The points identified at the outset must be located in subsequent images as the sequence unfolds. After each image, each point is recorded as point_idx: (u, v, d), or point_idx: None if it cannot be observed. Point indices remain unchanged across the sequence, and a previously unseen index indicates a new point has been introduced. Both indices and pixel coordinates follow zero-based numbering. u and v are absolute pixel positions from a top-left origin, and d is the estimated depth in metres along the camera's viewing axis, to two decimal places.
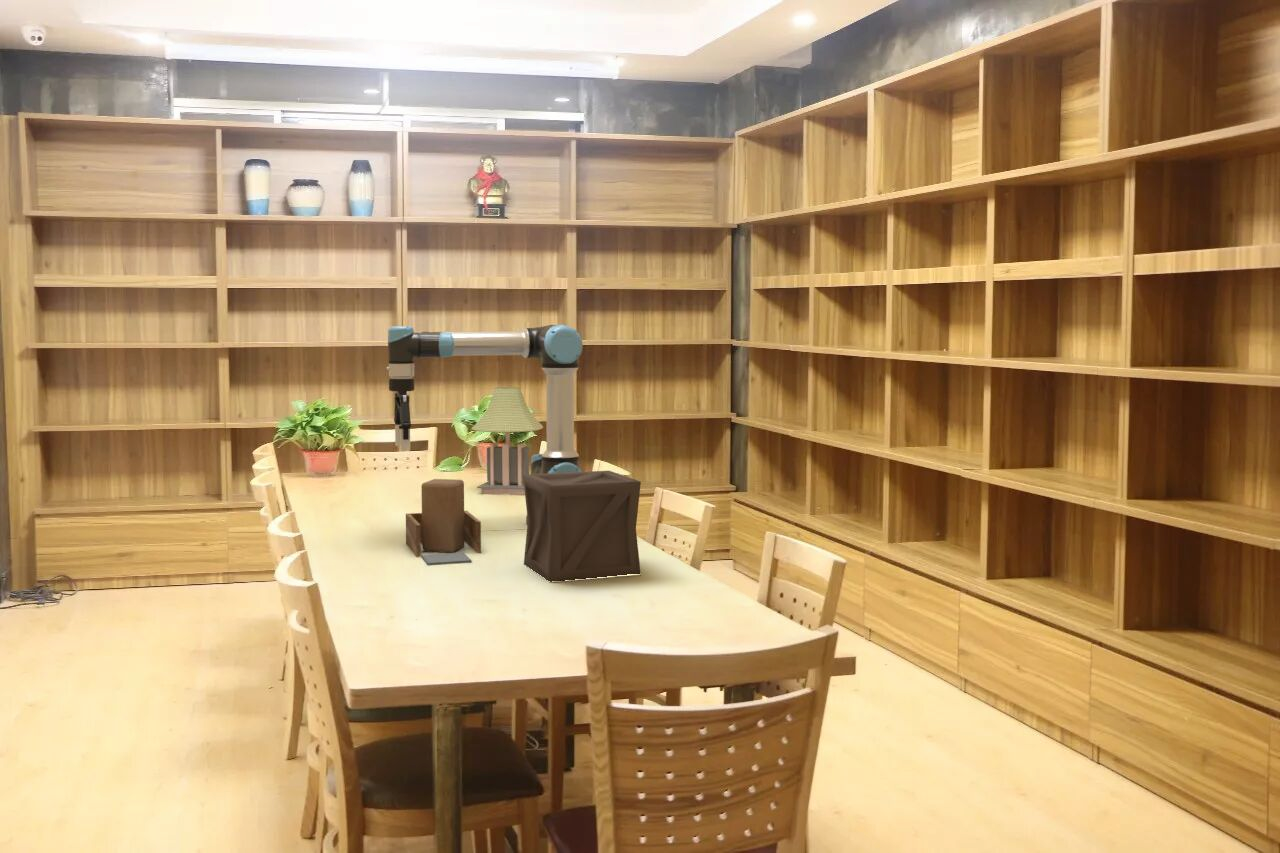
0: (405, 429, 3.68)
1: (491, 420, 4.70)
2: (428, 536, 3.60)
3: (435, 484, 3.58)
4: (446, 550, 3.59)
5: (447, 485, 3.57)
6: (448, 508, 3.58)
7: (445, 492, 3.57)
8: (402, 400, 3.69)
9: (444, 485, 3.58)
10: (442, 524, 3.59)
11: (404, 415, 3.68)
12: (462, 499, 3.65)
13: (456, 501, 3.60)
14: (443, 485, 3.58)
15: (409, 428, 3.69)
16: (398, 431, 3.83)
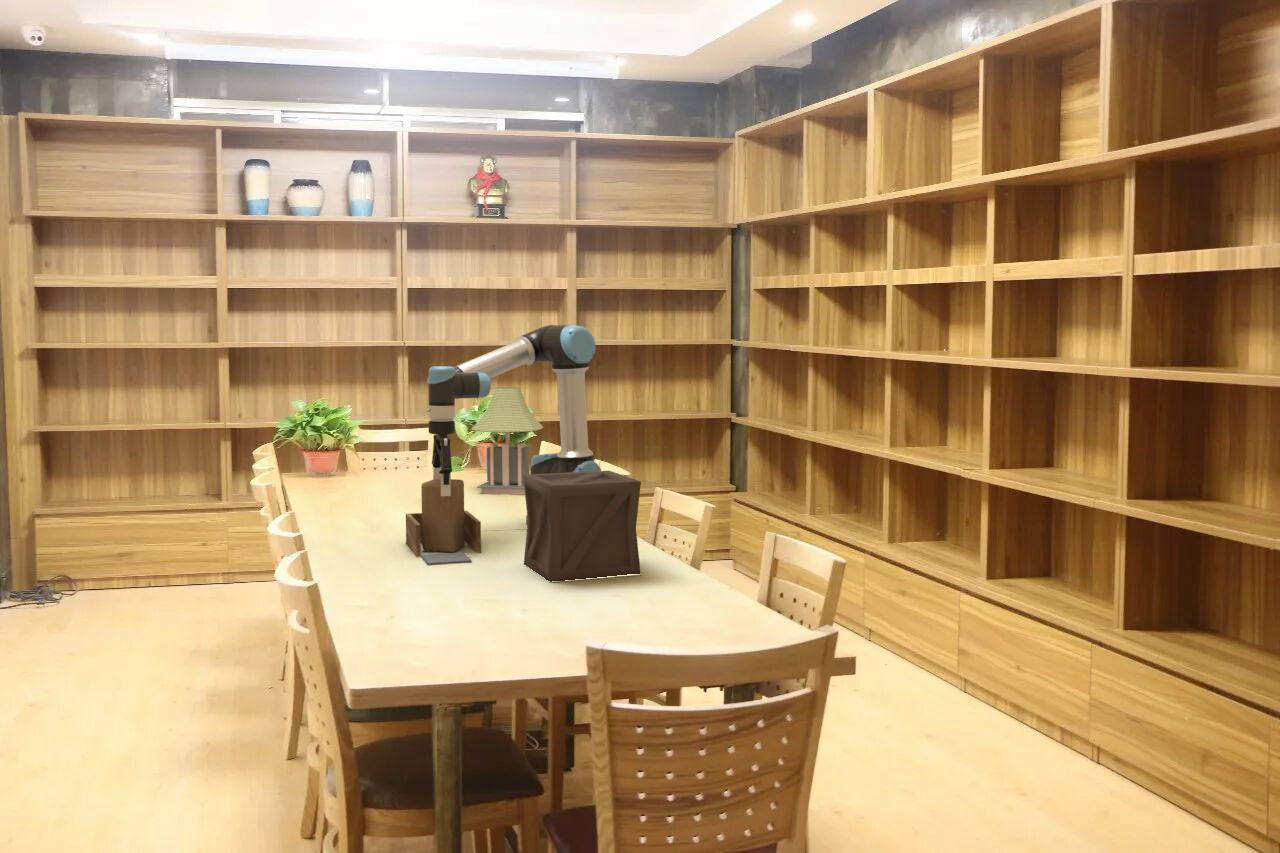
0: (446, 474, 3.54)
1: (491, 420, 4.70)
2: (428, 536, 3.60)
3: (435, 484, 3.58)
4: (446, 550, 3.59)
5: None
6: (448, 508, 3.58)
7: None
8: (443, 444, 3.55)
9: None
10: (442, 524, 3.58)
11: (445, 459, 3.53)
12: (462, 499, 3.65)
13: (456, 501, 3.60)
14: None
15: (450, 473, 3.55)
16: (436, 475, 3.68)
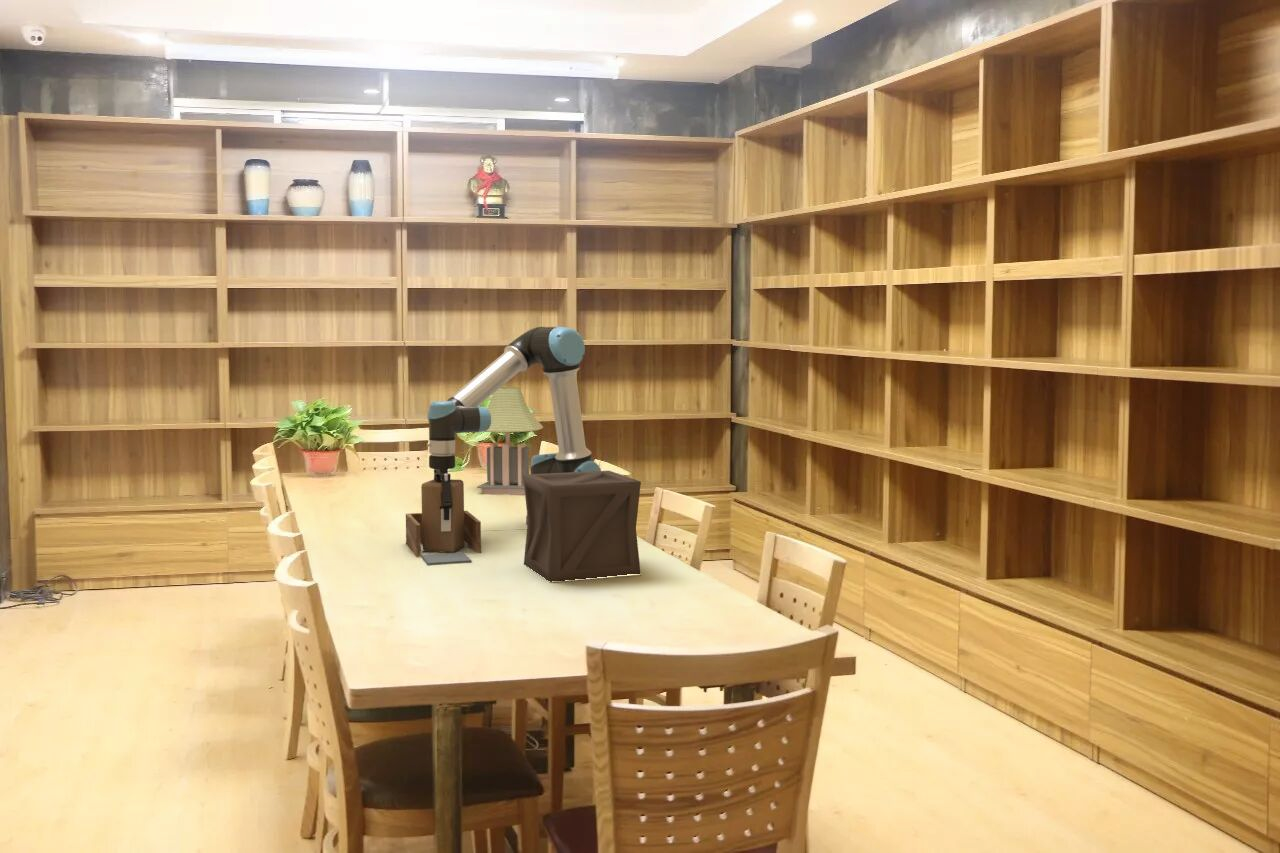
0: (446, 509, 3.55)
1: (491, 420, 4.70)
2: (428, 536, 3.60)
3: (435, 484, 3.58)
4: (446, 550, 3.59)
5: None
6: None
7: None
8: (443, 479, 3.56)
9: None
10: None
11: (445, 495, 3.54)
12: (462, 499, 3.65)
13: (456, 501, 3.60)
14: None
15: (450, 508, 3.56)
16: None
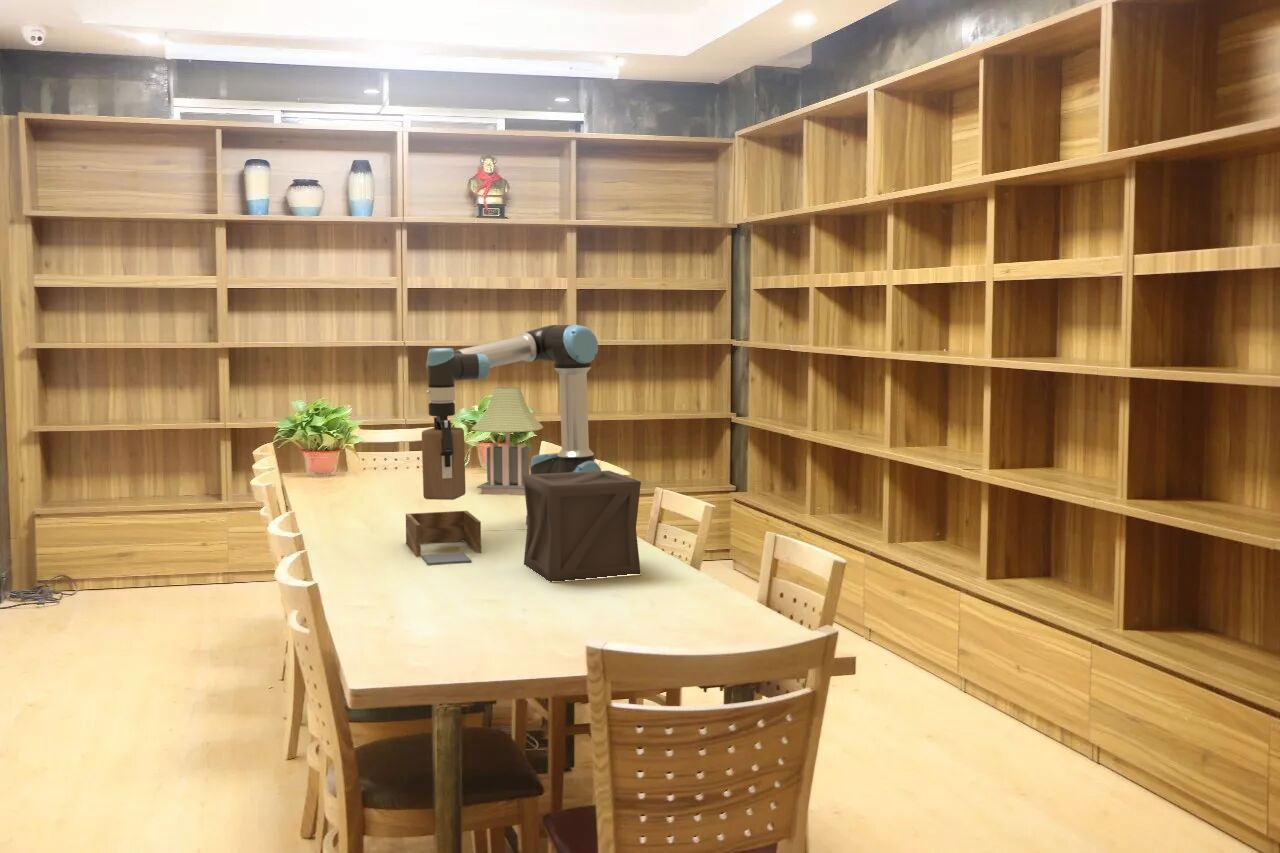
0: (447, 456, 3.54)
1: (491, 420, 4.70)
2: (429, 484, 3.58)
3: (435, 431, 3.57)
4: (447, 498, 3.58)
5: None
6: None
7: None
8: (443, 426, 3.54)
9: None
10: None
11: (446, 441, 3.53)
12: (462, 447, 3.64)
13: (457, 448, 3.59)
14: None
15: (451, 455, 3.55)
16: None
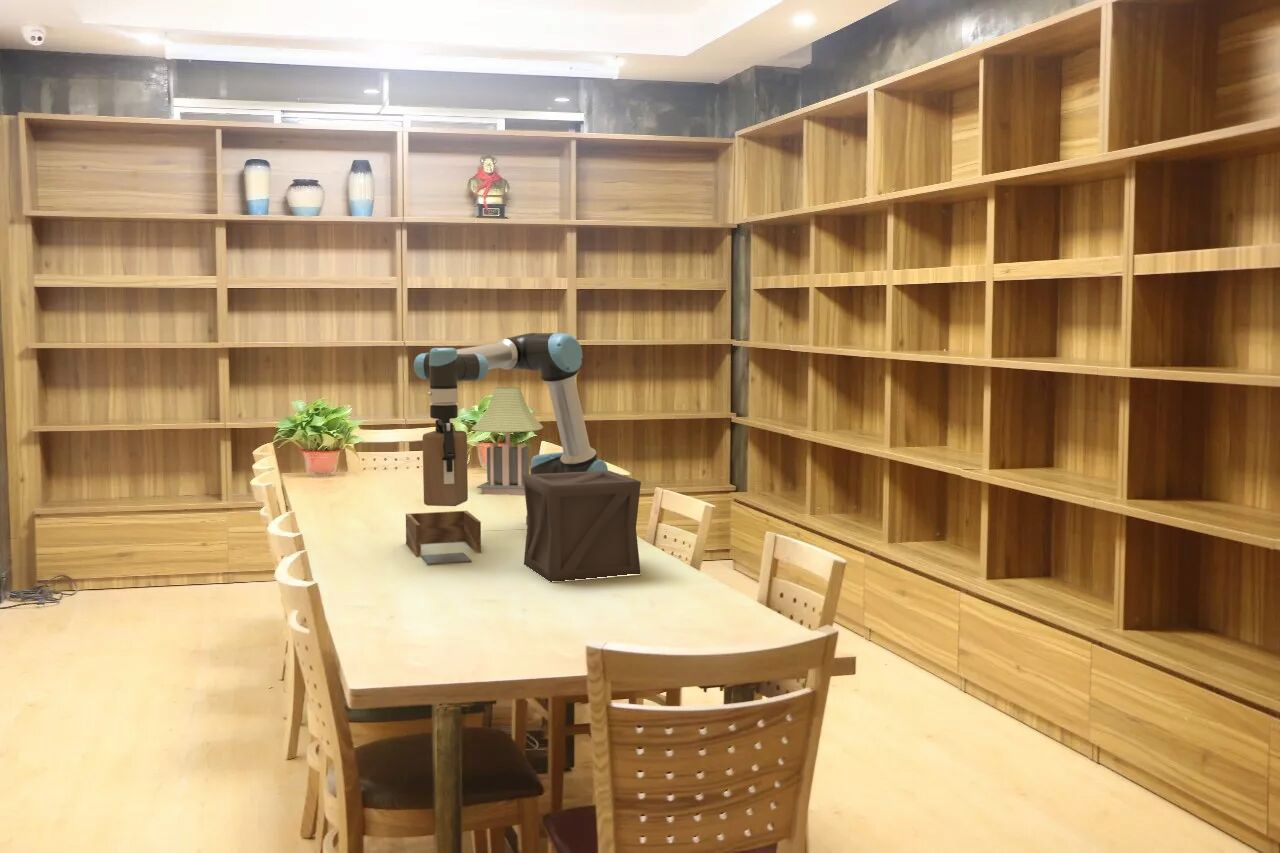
0: (449, 460, 3.38)
1: (491, 420, 4.70)
2: (430, 489, 3.42)
3: (437, 435, 3.41)
4: (449, 504, 3.42)
5: None
6: None
7: None
8: (445, 429, 3.39)
9: None
10: None
11: (448, 445, 3.37)
12: (465, 451, 3.48)
13: (459, 452, 3.43)
14: None
15: (453, 459, 3.39)
16: None
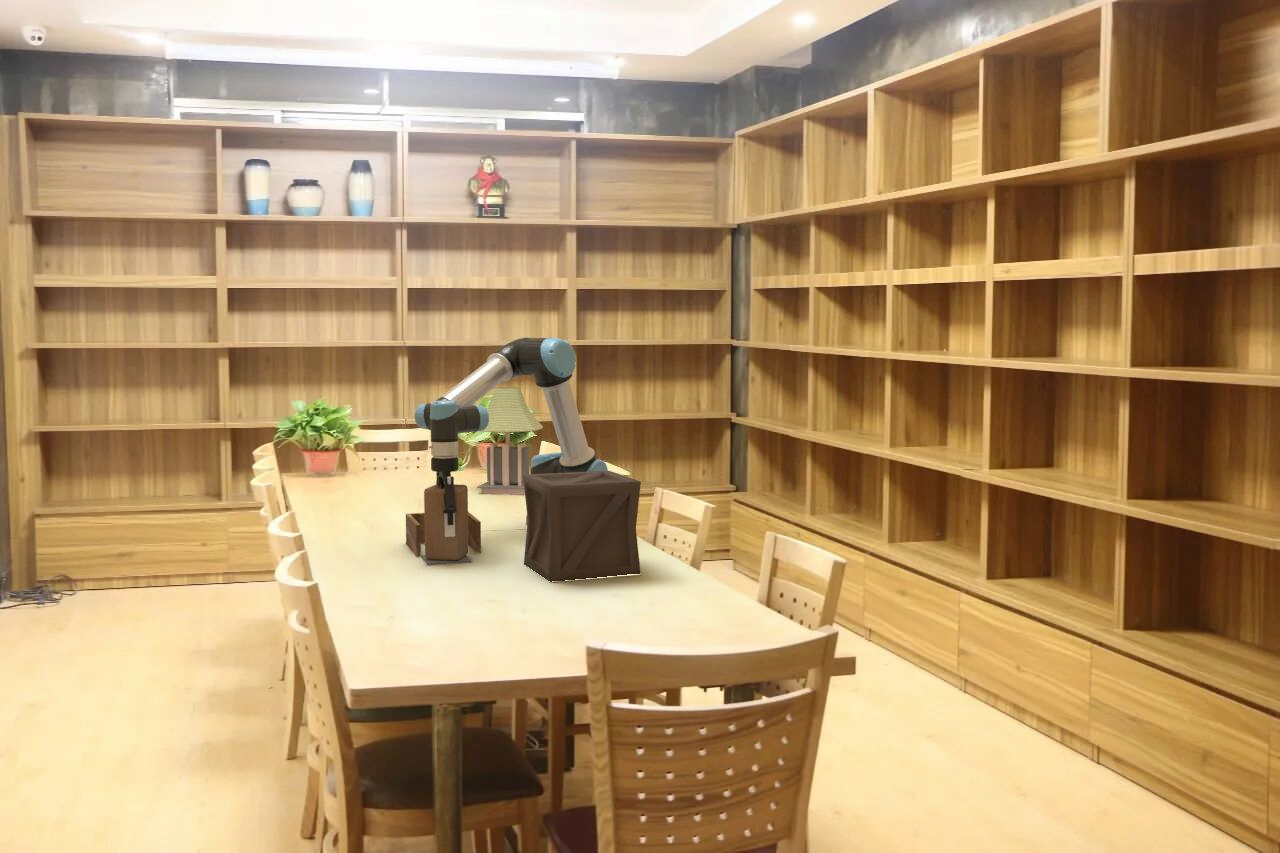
0: (450, 514, 3.39)
1: (491, 420, 4.70)
2: (431, 544, 3.44)
3: (439, 489, 3.43)
4: (450, 558, 3.44)
5: None
6: None
7: None
8: (446, 482, 3.40)
9: None
10: None
11: (449, 499, 3.39)
12: (466, 505, 3.49)
13: (460, 507, 3.44)
14: None
15: (454, 512, 3.40)
16: None
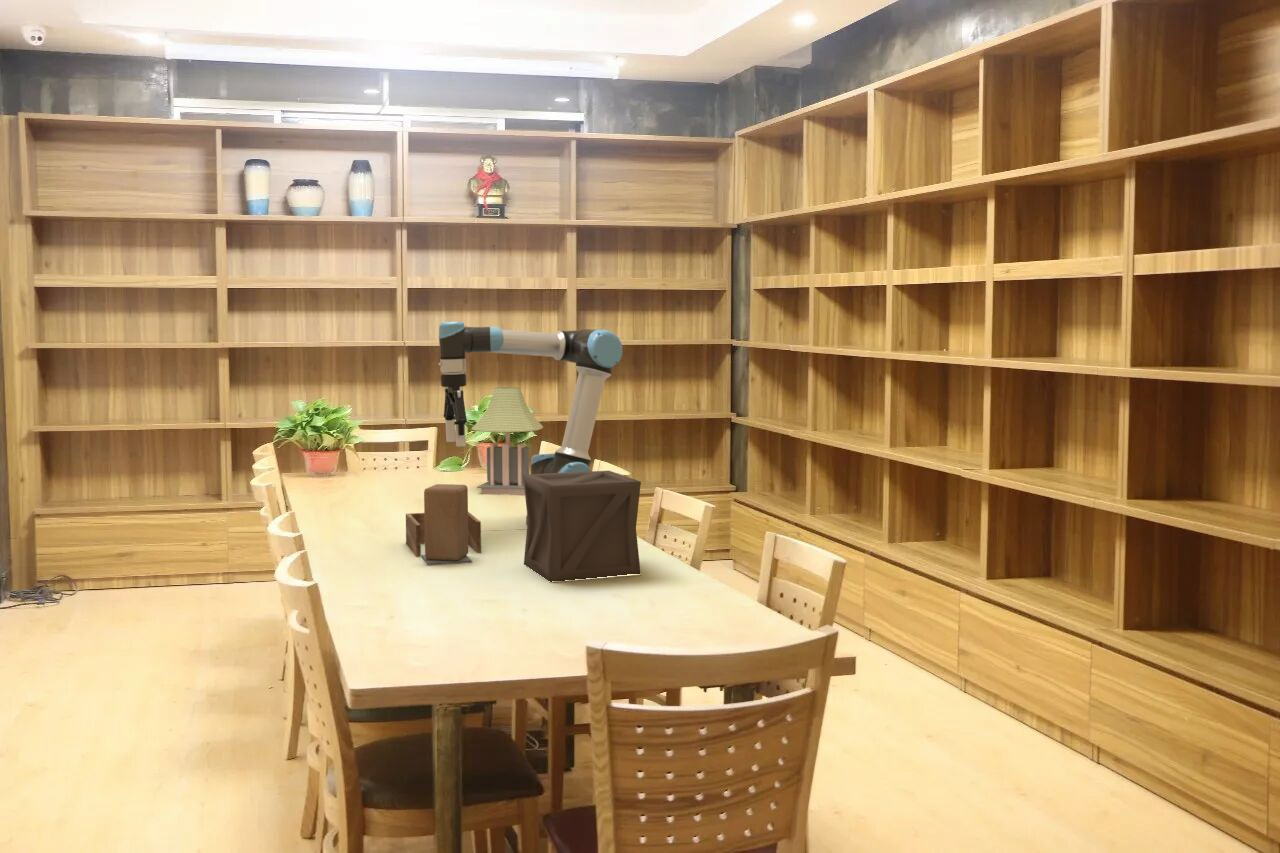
0: (461, 425, 3.67)
1: (491, 420, 4.70)
2: (431, 544, 3.44)
3: (439, 489, 3.43)
4: (450, 558, 3.44)
5: (451, 490, 3.42)
6: (453, 514, 3.42)
7: (449, 498, 3.42)
8: (457, 396, 3.68)
9: (448, 490, 3.42)
10: (446, 531, 3.43)
11: (459, 411, 3.66)
12: (466, 505, 3.49)
13: (461, 507, 3.44)
14: (447, 490, 3.42)
15: (464, 424, 3.68)
16: (449, 427, 3.81)
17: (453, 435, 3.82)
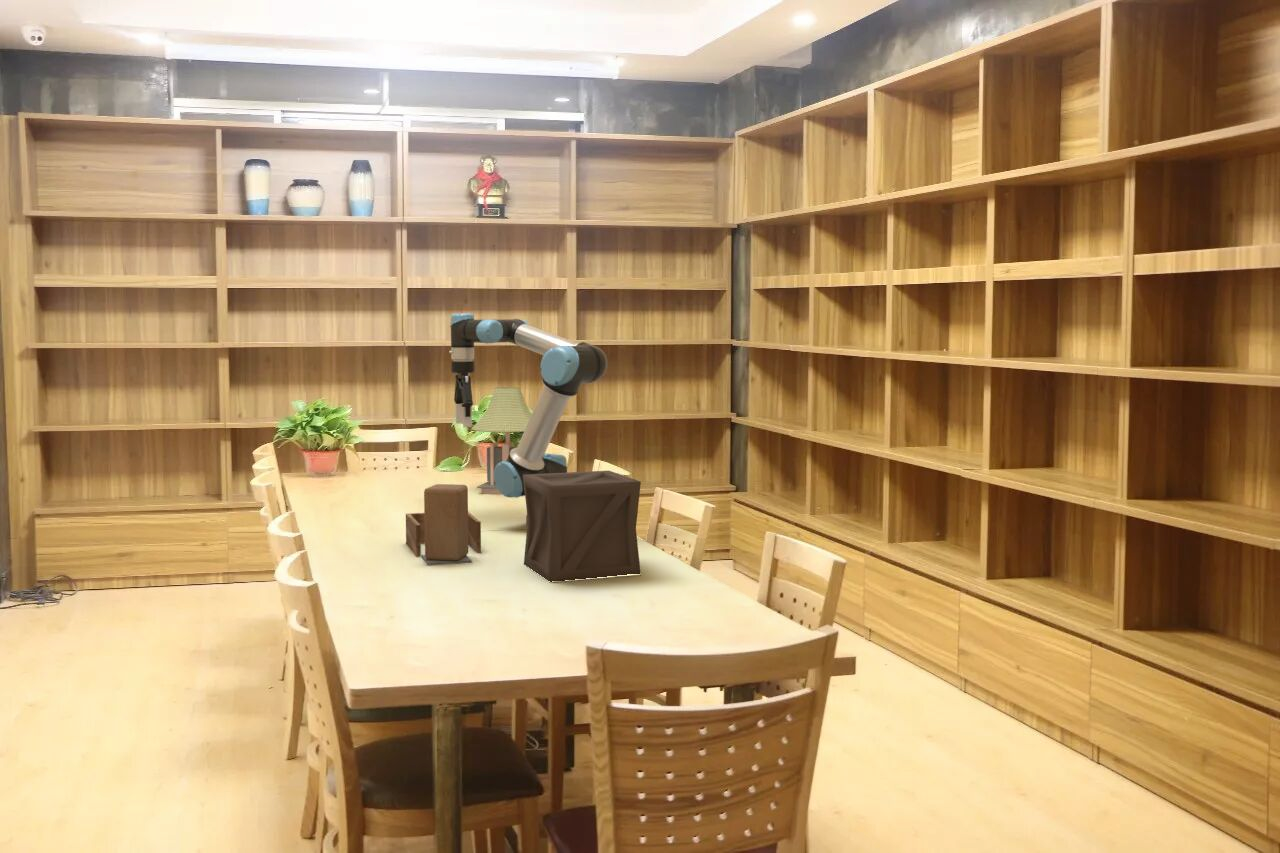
0: (467, 407, 4.03)
1: (491, 420, 4.70)
2: (431, 544, 3.44)
3: (439, 489, 3.43)
4: (450, 558, 3.44)
5: (451, 490, 3.42)
6: (453, 514, 3.42)
7: (449, 498, 3.42)
8: (464, 381, 4.04)
9: (448, 490, 3.42)
10: (446, 531, 3.43)
11: (466, 394, 4.02)
12: (466, 505, 3.49)
13: (461, 507, 3.44)
14: (447, 490, 3.42)
15: (471, 406, 4.04)
16: (458, 410, 4.17)
17: (462, 417, 4.18)
